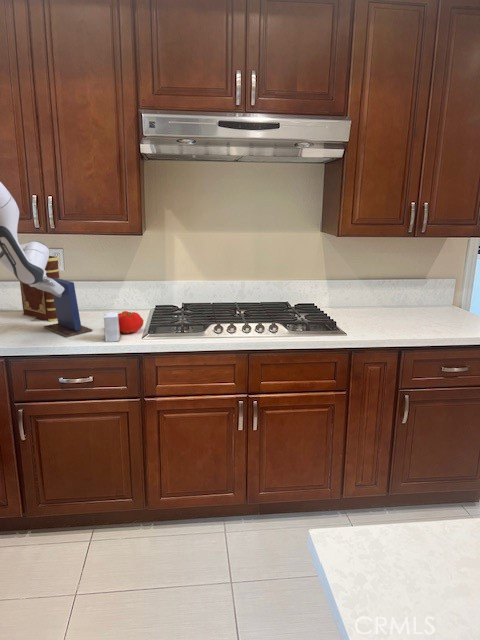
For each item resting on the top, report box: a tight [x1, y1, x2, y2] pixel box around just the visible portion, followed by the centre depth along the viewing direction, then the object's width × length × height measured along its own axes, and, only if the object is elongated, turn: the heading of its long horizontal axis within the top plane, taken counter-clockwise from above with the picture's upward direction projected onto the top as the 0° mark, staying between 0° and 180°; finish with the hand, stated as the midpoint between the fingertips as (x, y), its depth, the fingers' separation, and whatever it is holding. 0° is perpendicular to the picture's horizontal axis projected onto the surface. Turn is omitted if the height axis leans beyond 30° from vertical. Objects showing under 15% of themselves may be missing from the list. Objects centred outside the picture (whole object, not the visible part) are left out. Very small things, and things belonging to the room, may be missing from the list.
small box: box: [103, 312, 121, 343], centre depth 193 cm, size 8×6×10 cm
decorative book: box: [19, 255, 61, 323], centre depth 223 cm, size 22×8×30 cm, turn 58°
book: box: [53, 278, 82, 331], centre depth 203 cm, size 3×15×21 cm, turn 48°
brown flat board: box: [43, 322, 93, 338], centre depth 206 cm, size 12×20×1 cm, turn 48°
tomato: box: [118, 310, 144, 334], centre depth 204 cm, size 13×12×8 cm
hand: (59, 295), depth 200 cm, fingers closed, pressing on book
